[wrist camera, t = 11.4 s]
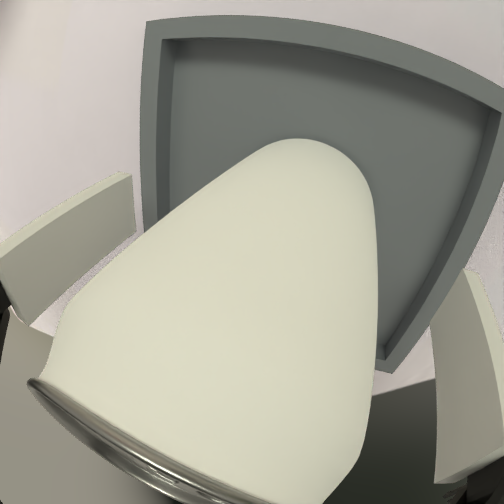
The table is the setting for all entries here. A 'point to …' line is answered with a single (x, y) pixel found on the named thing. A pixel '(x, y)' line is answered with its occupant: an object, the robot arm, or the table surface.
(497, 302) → the table surface
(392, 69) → the tray
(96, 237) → the robot arm
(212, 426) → the can
